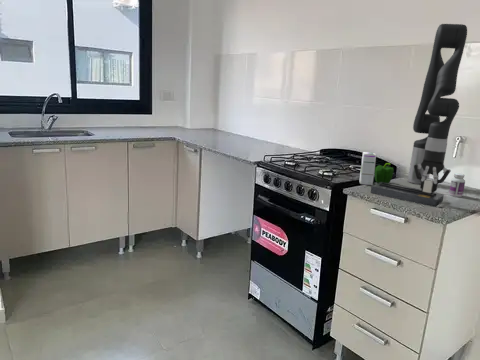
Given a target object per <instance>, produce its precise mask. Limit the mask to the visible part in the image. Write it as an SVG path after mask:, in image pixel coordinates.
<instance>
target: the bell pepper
mask: <svg viewBox="0 0 480 360" xmlns="http://www.w3.org/2000/svg"><path fill="white" fill-rule="evenodd" d="M394 171H395V170H394V167H393V166H392V167H391V163H390V162H386V163H385V164H384V165H381V164H380V165H379V164H378V165H377V166H376V165H375V170H374V180H375V182H376V184H377V183H379V182H386V183H390V182H391V181H392V178H393V176H394Z"/></svg>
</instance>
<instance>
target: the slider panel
mask: <svg viewBox="0 0 480 360" xmlns="http://www.w3.org/2000/svg"><path fill="white" fill-rule="evenodd" d="M370 193H371V194H373V195H374V194H375V195H380V196H383V197H387V198H393V199H396V198H397V199H396V200H402V201H405V200H406V201H407V202H410V203H414V202H415V204H420V205H424V206H430V207H434V208H437V207H438V206H439V205H441V203H442V202H444V196H445V194H444V193H440V192H436V191H435V192H434V193H432V192H431V193H429V194H428V193H426V192H423V191H422V190H421V189H420V188H416V187H410V186H405V185H399V184H395V183H392V182H391V183H390V182H389V183H386V182H379V183H377V182H376V183H375V184H373V185H370Z"/></svg>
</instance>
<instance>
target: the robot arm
mask: <svg viewBox="0 0 480 360" xmlns="http://www.w3.org/2000/svg"><path fill="white" fill-rule="evenodd" d="M467 36H468V26H467V25H465V24H462V23H461V24H458V23H441V24H439V26H438V27H437V30H436V31H435V36H434V41H433V45H432V51H431V56H430V61H429V65H428V69H427V73H426V75H425V79H424V80H425V81H424V83H423V89H422V92H421V93H422V94H421V97H420V101H419V105H418V108H417V111H416V115H415V117H414V120H413V125H412V126H413V127H412V129H413V131H414V132H415V133H418V134H423V135H424V134H426V135H427V136H426V137H424V138H422V139H421V138H420V139H417V140H414V142H413V146H412V153H411V159H410V163H409V164H410V165H409V171H408V175H407V182H409V183H412V184H415V185H419V189H421V190H422V191H423V187H424V181H425V180H427V179H429V180H430V175H432V176H433V180H434V183H433V187H432V193H434V192H436V191H437V189H438V184H442V183H444V181H446V179H447V177H448V176H449V174H450V173H451V171H452V170H451V169H448V168H446V167H445V163H444V162H445V158H446V152H447V149H448V148H447V146H448V137H449V132H450V128H451V125H452V123H453V120H455V119H454V118H455V117H456V115H457V113H458V111H459V108H460V103H459V101H458V100H457V99H456V98H451V97H449V98H448V96H451V95H453V94H454V93H455V92H456V89H457V88H456V87H457V82H458V81H457V80H458V73H459V68H460V64H461V61H462V58H463V54H464V49H465V45H466V41H467ZM442 49H454V51H453V53H452V55H451V56H450V58H449V59H448V60H447V61H446V62H445V63H444V60H443V57H442ZM427 112H428V113H427ZM440 117H445V119H444V120H441V118H440ZM441 172H442V174H443V175H442V177H440V179H439V176H440V175H439V174H440V173H441Z"/></svg>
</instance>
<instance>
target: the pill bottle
mask: <svg viewBox="0 0 480 360" xmlns="http://www.w3.org/2000/svg"><path fill="white" fill-rule="evenodd" d="M465 184H466V180H465V174H463V173H457V172H455V173H454V174H453V177H452V178H451V181H450V185H449V191H448V195H449V196H451V197H456V198H461V197H463V195H464V190H465Z"/></svg>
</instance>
